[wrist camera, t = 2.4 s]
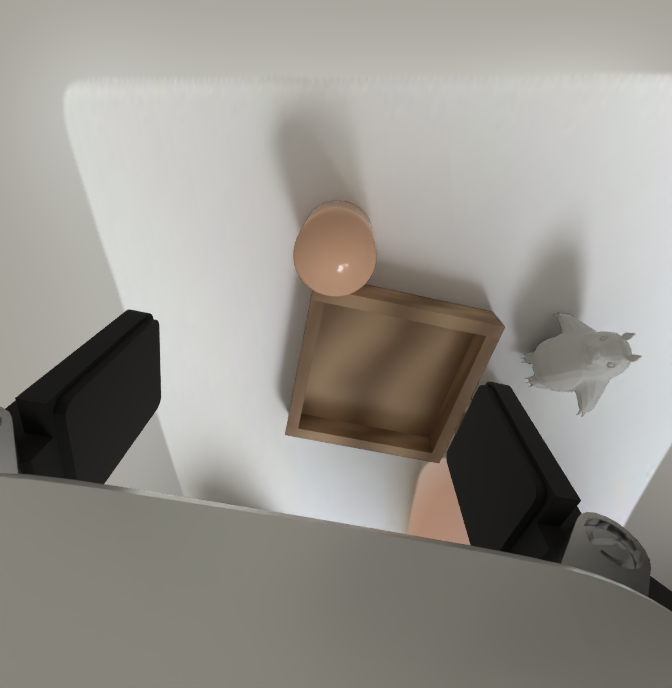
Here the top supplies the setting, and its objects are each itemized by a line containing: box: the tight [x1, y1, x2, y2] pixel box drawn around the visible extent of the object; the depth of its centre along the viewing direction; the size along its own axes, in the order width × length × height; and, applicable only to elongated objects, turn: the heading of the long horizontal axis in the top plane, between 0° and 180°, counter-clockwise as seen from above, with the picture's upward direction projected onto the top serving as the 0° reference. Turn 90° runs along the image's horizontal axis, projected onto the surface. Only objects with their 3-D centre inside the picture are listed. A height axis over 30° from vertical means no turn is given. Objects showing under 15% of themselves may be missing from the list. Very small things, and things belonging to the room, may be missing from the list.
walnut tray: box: [285, 285, 505, 463], centre depth 31 cm, size 14×14×3 cm
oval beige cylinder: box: [293, 201, 377, 296], centre depth 25 cm, size 5×5×5 cm
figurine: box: [523, 313, 642, 417], centre depth 27 cm, size 8×6×8 cm
